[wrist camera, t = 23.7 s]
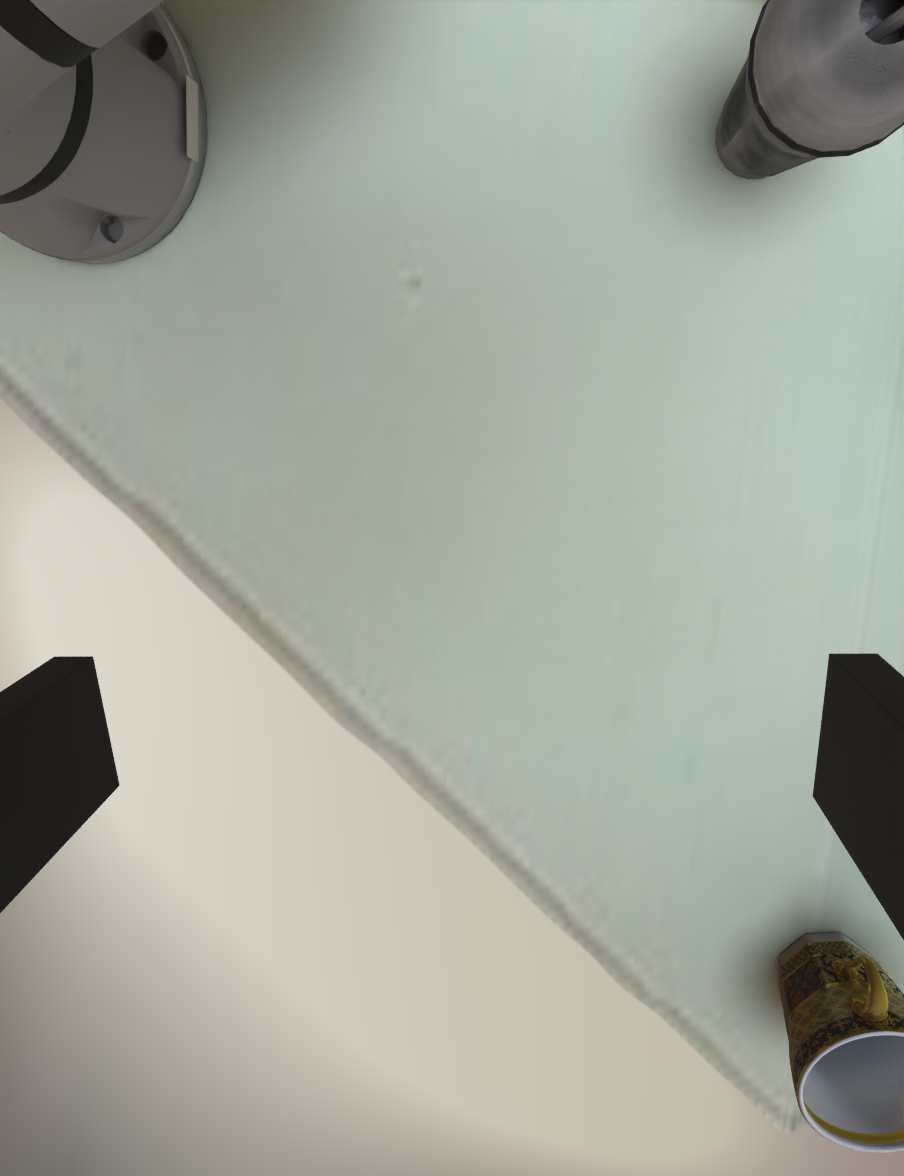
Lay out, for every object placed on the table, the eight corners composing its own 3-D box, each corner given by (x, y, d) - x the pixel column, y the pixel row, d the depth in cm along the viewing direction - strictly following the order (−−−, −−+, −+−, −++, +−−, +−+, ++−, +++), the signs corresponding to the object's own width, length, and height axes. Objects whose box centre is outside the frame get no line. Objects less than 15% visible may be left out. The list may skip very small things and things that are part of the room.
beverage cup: (706, 43, 39) (875, -244, 20) (849, 59, 38) (1159, -218, 20) (675, 198, 41) (799, 73, 22) (809, 215, 41) (1052, 102, 22)
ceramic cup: (892, 1017, 56) (965, 1153, 47) (754, 1021, 58) (798, 1154, 48) (896, 873, 53) (977, 989, 43) (748, 881, 54) (795, 995, 44)
